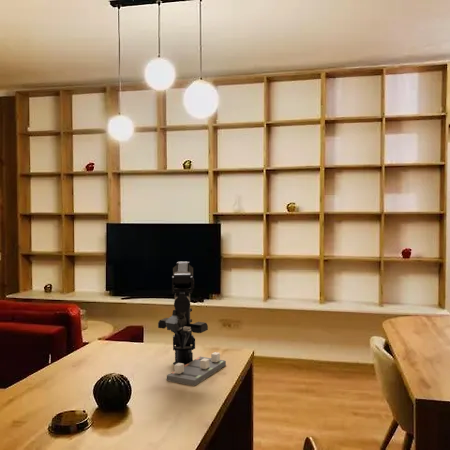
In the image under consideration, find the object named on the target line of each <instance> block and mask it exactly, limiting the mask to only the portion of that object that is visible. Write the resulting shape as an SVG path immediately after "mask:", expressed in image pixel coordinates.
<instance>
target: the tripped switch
mask: <svg viewBox="0 0 450 450" xmlns="http://www.w3.org/2000/svg"><path fill="white" fill-rule="evenodd" d="M173 365H174V364H173ZM173 367H174V368H173V369H174V371H173V372H174V373H178V374H180V373H182V372H184V364H183V363H177V364H175V365H174V366H173Z"/></svg>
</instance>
